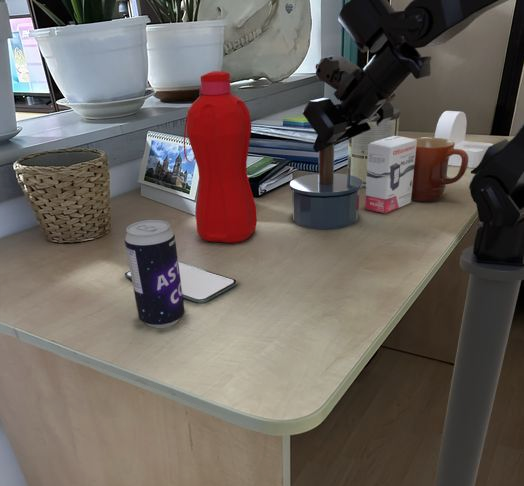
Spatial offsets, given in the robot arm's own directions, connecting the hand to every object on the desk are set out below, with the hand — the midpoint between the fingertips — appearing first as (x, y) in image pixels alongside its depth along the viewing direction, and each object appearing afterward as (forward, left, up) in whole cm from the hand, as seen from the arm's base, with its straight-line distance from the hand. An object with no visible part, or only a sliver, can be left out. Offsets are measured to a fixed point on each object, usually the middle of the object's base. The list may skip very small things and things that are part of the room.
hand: (320, 148), depth 93 cm
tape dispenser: (-20, -47, -12) cm, 53 cm away
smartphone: (+13, +32, -12) cm, 36 cm away
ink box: (-11, -8, -12) cm, 19 cm away
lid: (-1, +1, -6) cm, 6 cm away
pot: (-1, +1, -12) cm, 12 cm away
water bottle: (+14, +13, -12) cm, 22 cm away
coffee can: (-5, -25, -12) cm, 29 cm away
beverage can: (+10, +43, -12) cm, 45 cm away
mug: (-19, -14, -12) cm, 27 cm away
